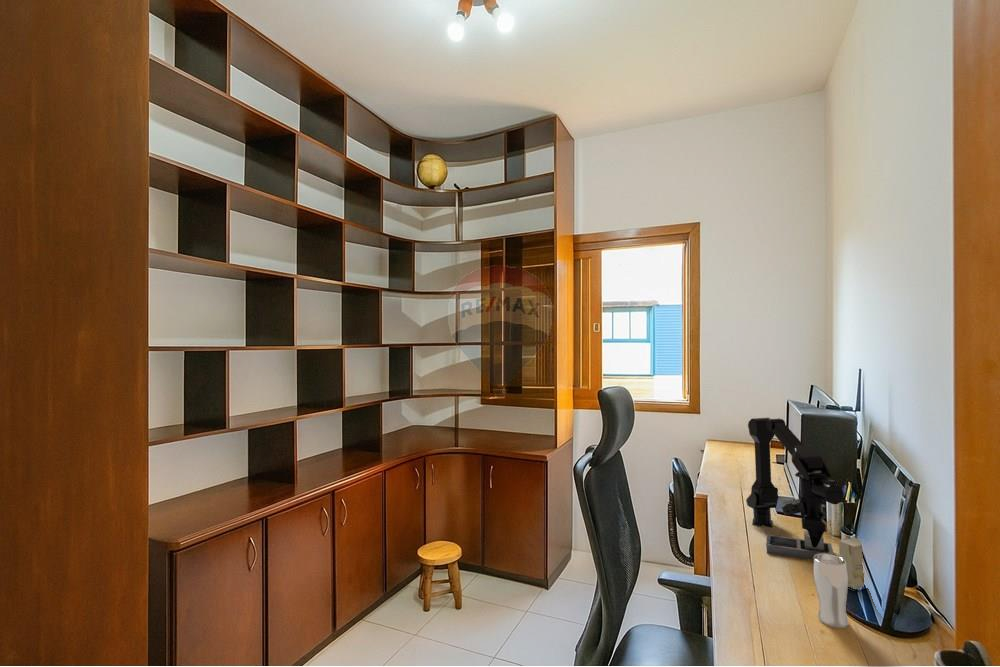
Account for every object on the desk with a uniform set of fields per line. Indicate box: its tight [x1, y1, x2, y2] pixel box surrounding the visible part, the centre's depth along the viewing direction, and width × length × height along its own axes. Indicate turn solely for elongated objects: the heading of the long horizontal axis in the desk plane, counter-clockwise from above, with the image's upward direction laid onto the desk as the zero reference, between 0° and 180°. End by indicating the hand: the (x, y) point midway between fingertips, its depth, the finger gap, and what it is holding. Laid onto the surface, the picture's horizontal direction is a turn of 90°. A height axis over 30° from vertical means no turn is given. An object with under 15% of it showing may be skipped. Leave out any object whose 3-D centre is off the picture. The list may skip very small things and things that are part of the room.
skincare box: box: [838, 537, 864, 589], centre depth 132 cm, size 6×4×12 cm
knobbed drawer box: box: [803, 529, 825, 553], centre depth 152 cm, size 5×5×7 cm
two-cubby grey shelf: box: [765, 533, 834, 561], centre depth 154 cm, size 10×18×2 cm, turn 59°
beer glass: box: [812, 552, 850, 629], centre depth 117 cm, size 7×7×15 cm
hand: (814, 543), depth 152 cm, fingers open, 6 cm apart
